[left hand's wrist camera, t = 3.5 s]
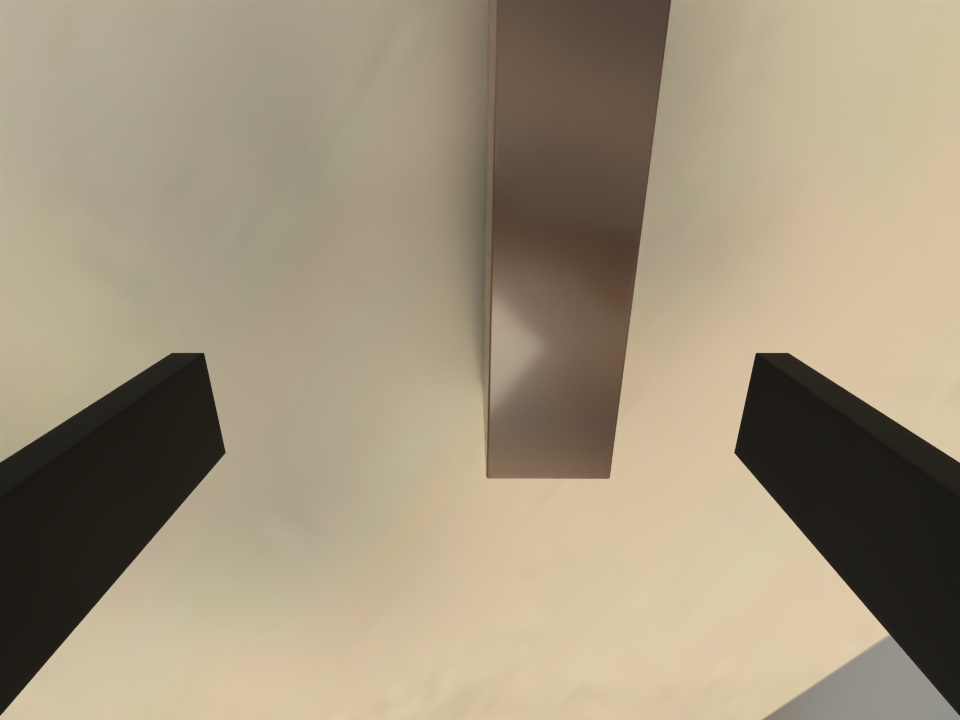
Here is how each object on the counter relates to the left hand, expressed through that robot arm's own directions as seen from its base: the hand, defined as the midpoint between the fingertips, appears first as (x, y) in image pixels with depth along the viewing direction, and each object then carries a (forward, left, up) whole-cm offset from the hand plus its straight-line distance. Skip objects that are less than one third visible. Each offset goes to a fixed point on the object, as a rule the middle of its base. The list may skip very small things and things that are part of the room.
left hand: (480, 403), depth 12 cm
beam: (+33, -3, -14) cm, 36 cm away
